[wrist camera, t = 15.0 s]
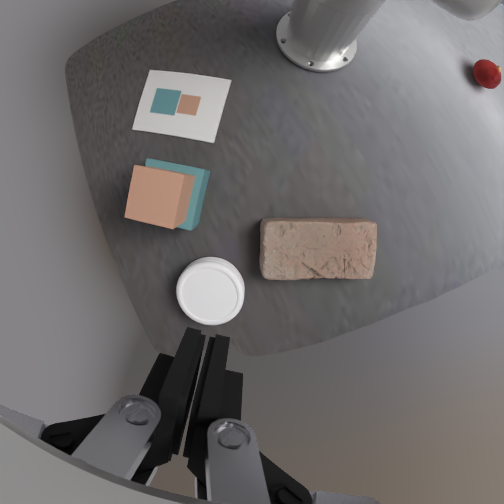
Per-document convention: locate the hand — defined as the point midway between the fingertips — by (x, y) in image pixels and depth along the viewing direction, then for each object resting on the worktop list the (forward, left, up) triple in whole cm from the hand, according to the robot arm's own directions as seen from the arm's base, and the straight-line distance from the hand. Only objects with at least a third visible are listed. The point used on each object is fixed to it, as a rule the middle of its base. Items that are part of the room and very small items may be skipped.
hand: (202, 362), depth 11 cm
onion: (-41, +36, -32) cm, 63 cm away
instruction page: (-16, -13, -32) cm, 38 cm away
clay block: (-3, -10, -27) cm, 29 cm away
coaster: (+10, -2, -33) cm, 34 cm away
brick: (0, +11, -33) cm, 35 cm away
